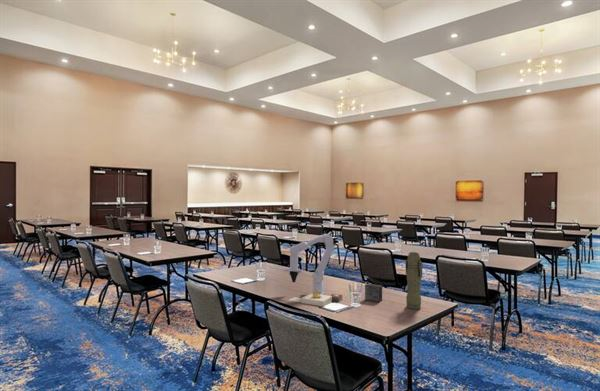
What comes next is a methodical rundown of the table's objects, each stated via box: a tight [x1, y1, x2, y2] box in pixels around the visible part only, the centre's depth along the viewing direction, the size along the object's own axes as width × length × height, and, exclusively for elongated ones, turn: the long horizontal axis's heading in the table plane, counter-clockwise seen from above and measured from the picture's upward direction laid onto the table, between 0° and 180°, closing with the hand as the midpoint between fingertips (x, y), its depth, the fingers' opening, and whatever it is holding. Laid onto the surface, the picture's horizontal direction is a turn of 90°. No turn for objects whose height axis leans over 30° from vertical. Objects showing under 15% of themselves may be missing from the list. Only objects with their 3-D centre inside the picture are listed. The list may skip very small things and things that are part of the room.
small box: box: [364, 283, 383, 303], centre depth 247 cm, size 11×6×10 cm, turn 59°
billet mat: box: [288, 296, 303, 303], centre depth 246 cm, size 9×9×1 cm
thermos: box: [405, 251, 423, 310], centre depth 232 cm, size 9×12×35 cm
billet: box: [312, 291, 320, 299], centre depth 242 cm, size 4×4×6 cm
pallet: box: [301, 292, 333, 307], centre depth 241 cm, size 14×16×4 cm
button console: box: [329, 293, 343, 303], centre depth 247 cm, size 7×7×3 cm
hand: (293, 282), depth 259 cm, fingers closed
